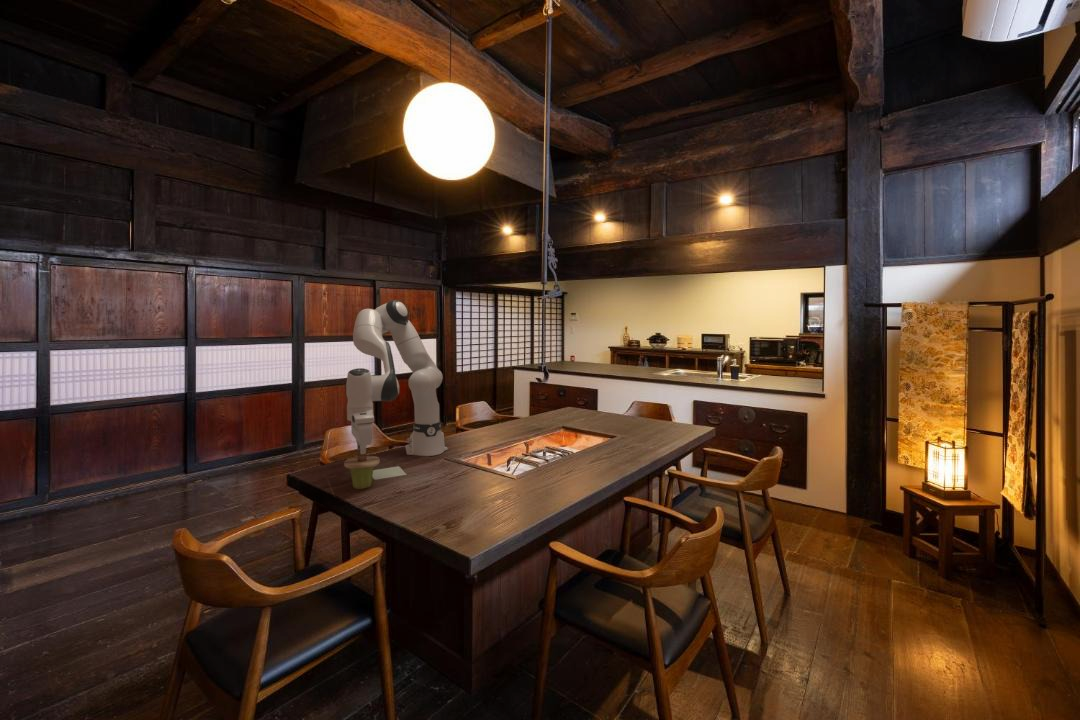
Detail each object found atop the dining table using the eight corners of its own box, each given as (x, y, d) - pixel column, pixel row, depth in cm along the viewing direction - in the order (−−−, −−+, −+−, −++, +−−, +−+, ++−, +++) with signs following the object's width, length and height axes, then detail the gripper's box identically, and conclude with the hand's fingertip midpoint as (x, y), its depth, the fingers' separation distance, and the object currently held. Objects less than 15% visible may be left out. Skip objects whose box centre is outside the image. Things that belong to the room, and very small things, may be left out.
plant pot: (372, 481, 176) (372, 458, 175) (379, 488, 168) (378, 465, 167) (346, 485, 171) (345, 462, 170) (351, 493, 163) (350, 469, 162)
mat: (368, 472, 185) (368, 470, 185) (399, 467, 192) (398, 466, 192) (374, 481, 175) (374, 479, 175) (406, 476, 181) (406, 474, 181)
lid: (341, 462, 171) (341, 448, 170) (375, 457, 177) (375, 443, 176) (347, 471, 160) (346, 456, 160) (383, 465, 167) (382, 451, 166)
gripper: (346, 410, 174) (347, 446, 176) (355, 420, 157) (357, 460, 158) (364, 408, 178) (365, 444, 179) (375, 418, 160) (376, 457, 161)
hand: (361, 451), depth 168 cm, fingers open, 4 cm apart
